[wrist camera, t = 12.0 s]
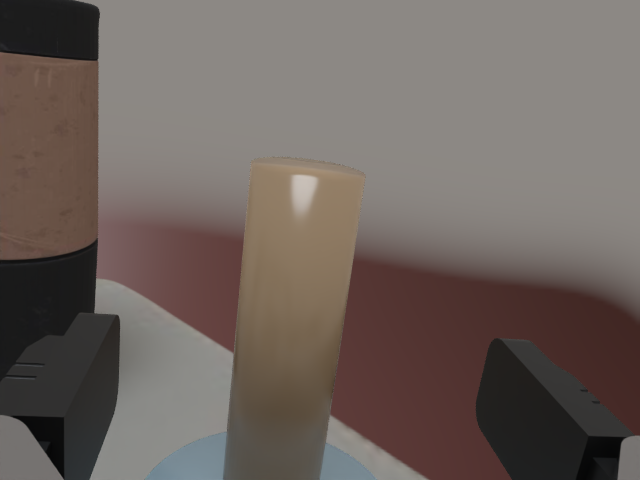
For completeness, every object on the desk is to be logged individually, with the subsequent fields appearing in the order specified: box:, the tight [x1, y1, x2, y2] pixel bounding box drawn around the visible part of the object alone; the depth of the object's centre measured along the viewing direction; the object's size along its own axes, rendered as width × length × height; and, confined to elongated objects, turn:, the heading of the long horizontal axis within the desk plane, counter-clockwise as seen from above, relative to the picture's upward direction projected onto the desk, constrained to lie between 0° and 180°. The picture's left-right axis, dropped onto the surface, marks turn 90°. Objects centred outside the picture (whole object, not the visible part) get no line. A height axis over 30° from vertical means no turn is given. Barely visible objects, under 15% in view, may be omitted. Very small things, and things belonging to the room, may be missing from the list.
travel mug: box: [0, 0, 100, 382], centre depth 28 cm, size 8×8×20 cm
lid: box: [145, 157, 377, 480], centre depth 17 cm, size 8×8×12 cm
